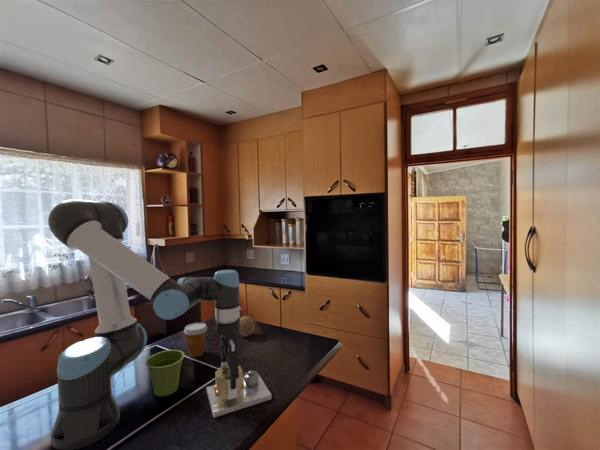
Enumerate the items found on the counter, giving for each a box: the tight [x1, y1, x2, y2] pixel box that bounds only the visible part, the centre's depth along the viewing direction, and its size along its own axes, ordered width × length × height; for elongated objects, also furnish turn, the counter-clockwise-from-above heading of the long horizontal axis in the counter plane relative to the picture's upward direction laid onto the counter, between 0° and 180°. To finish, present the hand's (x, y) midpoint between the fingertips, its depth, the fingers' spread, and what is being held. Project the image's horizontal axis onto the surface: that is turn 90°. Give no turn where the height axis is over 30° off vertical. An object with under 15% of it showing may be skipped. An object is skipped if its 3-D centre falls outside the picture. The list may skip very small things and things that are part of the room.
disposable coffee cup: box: [183, 322, 208, 358], centre depth 120 cm, size 10×10×12 cm
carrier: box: [205, 369, 272, 418], centre depth 91 cm, size 18×14×6 cm
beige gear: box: [214, 365, 244, 399], centre depth 89 cm, size 9×9×6 cm
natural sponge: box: [238, 315, 256, 338], centre depth 138 cm, size 9×9×10 cm
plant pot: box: [145, 349, 186, 398], centre depth 94 cm, size 12×12×11 cm
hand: (229, 389), depth 89 cm, fingers closed on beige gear, 9 cm apart
